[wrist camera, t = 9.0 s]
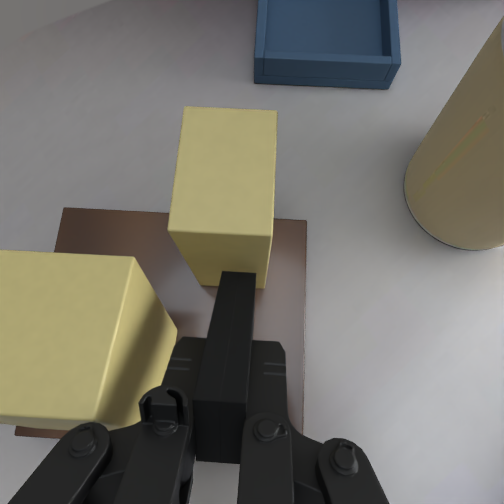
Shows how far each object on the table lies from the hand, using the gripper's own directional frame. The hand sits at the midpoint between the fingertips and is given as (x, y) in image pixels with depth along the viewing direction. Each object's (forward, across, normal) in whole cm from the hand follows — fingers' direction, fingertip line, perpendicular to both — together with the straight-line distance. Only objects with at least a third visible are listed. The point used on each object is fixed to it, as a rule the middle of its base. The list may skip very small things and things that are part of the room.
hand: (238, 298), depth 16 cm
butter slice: (+5, -1, 0) cm, 5 cm away
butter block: (-1, -6, -5) cm, 8 cm away
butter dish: (+18, +4, +11) cm, 21 cm away
